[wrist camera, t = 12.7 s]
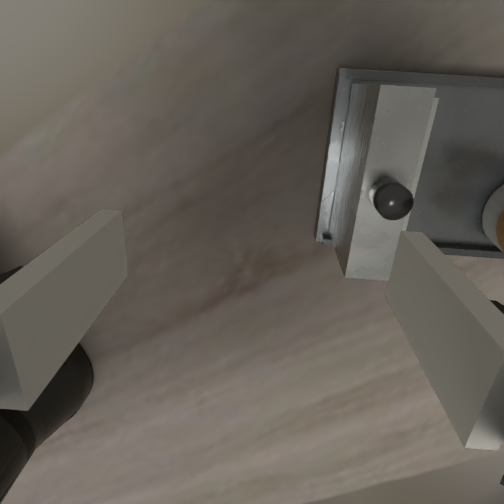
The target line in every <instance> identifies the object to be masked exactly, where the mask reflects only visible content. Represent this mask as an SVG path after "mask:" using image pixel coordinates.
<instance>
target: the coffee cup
mask: <svg viewBox="0 0 504 504" xmlns="http://www.w3.org/2000/svg"><path fill="white" fill-rule="evenodd" d="M482 221H483V229H484V232H485V234H486V236H487V237H488V238H489V239H490V240H491V241H492V242H493V243H494V244H495V245H496V246H497V247H498V248H499V249H500V250H501V251H502V252H503V253H504V184H503V185H502V186H500V187H499V188H498V189H497V190H495V191H494V193H493V194H492V195H491V196H490V197H489V199H488V201H487V202H486V204H485V206H484V210H483V214H482Z"/></svg>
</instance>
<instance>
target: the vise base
mask: <svg viewBox="0 0 504 504" xmlns="http://www.w3.org/2000/svg"><path fill="white" fill-rule="evenodd" d="M352 84H375V85H394V86H410V87H426V88H436V92H435V96H434V98H439V101H438V105H437V109H436V113H435V117H434V121H433V125H432V129H431V133H430V137H429V141H428V145H427V149H426V153H425V157H424V161H423V165H422V169H421V173H420V177H419V181H418V184H417V188H416V192H415V196H414V203H413V207H412V209H411V212H410V216H409V220H408V224H407V228H406V231H414V232H423V233H424V234H425V235H426V236H427V237H428V238H429V239H430V240H431V242H432V243H433V244H434V245H435V246H436V247H437V248H438V249H439V250H440V251H441V252H442V253H443V254H445V255H459V256H473V257H487V258H501V259H504V253H503V252H502V251H501V250H500V249H499V248H498V247H497V246H496V245H495V244H494V243H493V242H492V241H491V240H490V239H489V238H488V237H487V236H486V234H485V232H484V229H483V221H482V214H483V210H484V206H485V204H486V202H487V201H488V199H489V197H490V196H491V195H492V194H493V193H494V191H495V190H497V189H498V188H499V187H500V186H502V185H503V184H504V78H499V77H483V76H466V75H450V74H433V73H417V72H400V71H383V70H367V69H350V68H337V72H336V79H335V87H334V94H333V101H332V109H331V116H330V123H329V130H328V138H327V145H326V152H325V159H324V167H323V174H322V181H321V188H320V196H319V203H318V210H317V217H316V225H315V232H314V237H315V241H316V242H322V245H323V246H333V243H332V241H331V238H330V235H329V230H330V223H331V217H332V210H333V204H334V198H335V191H336V185H337V178H338V172H339V166H340V159H341V153H342V146H343V140H344V134H345V127H346V121H347V114H348V108H349V101H350V95H351V89H352Z"/></svg>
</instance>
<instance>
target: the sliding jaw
mask: <svg viewBox="0 0 504 504" xmlns="http://www.w3.org/2000/svg"><path fill="white" fill-rule="evenodd" d="M435 92H436V88H426V87H410V86H394V85H375V84H352V89H351V95H350V101H349V108H348V114H347V121H346V127H345V134H344V140H343V146H342V153H341V159H340V166H339V172H338V178H337V185H336V191H335V198H334V204H333V210H332V217H331V223H330V230H329V235H330V238H331V241H332V243H333V246H334V249H335V252H336V254H337V257H338V260H339V263H340V266H341V268H342V271H343V274H344V277H345V278H356V279H370V280H383V281H389V277H390V273H391V269H392V265H393V261H394V256H395V252H396V248H397V244H398V240H399V236H400V232H401V231H406V228H407V224H408V220H409V216H410V212H411V209H412V207H413V203H414V196H415V192H416V188H417V184H418V181H419V177H420V173H421V169H422V165H423V161H424V157H425V153H426V149H427V145H428V141H429V137H430V133H431V129H432V125H433V121H434V117H435V113H436V109H437V105H438V101H439V98H434V96H435Z"/></svg>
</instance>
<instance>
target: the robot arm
mask: <svg viewBox="0 0 504 504" xmlns="http://www.w3.org/2000/svg"><path fill="white" fill-rule="evenodd" d="M127 277H128V271H127V261H126V251H125V241H124V231H123V221H122V211H120V210H106V209H101V210H99V211H98V212H97V213H95V214H94V215H93V216H91V217H90V218H88V219H87V220H86V221H84V222H83V223H82V224H80V225H79V226H78V227H76V228H75V229H74V230H72V231H71V232H70V233H68V234H67V235H66V236H64V237H63V238H62V239H60V240H59V241H58V242H56V243H55V244H54V245H52V246H51V247H50V248H48V249H47V250H46V251H44V252H43V253H42V254H40V255H39V256H38V257H36V258H35V259H34V260H32V261H31V262H30V263H28V264H27V265H26V266H20V267H18V268H16V269H13V270H11V271H9V272H6V273H4V274H2V275H0V504H1V502H2V501H3V499H4V498H5V496H6V494H7V493H8V491H9V490H10V488H11V487H12V485H13V483H14V482H15V480H16V479H17V477H18V476H19V474H20V473H21V471H22V469H23V468H24V466H25V465H26V463H27V462H28V460H29V458H30V457H31V455H32V454H33V452H34V451H35V449H36V448H37V447H38V446H39V445H40V444H42V443H43V442H44V441H45V440H46V439H47V438H48V437H49V436H51V435H52V434H53V433H54V432H55V431H56V430H57V429H58V428H59V427H60V426H61V425H63V424H64V423H65V422H66V421H68V420H69V419H70V418H72V417H73V416H74V415H75V414H76V413H77V412H78V410H79V409H80V408H81V406H82V404H83V403H84V401H85V399H86V398H87V396H88V394H89V392H90V390H91V387H92V381H93V375H92V369H91V366H90V363H89V360H88V358H87V357H86V355H85V353H84V352H83V350H82V349H81V348H80V346H79V345H78V343H79V342H80V340H81V339H82V337H83V336H84V335H85V333H86V332H87V331H88V329H89V328H90V327H91V325H92V324H93V323H94V321H95V320H96V319H97V317H98V316H99V315H100V313H101V312H102V311H103V309H104V308H105V306H106V305H107V304H108V302H109V301H110V300H111V298H112V297H113V296H114V294H115V293H116V292H117V290H118V289H119V288H120V286H121V285H122V284H123V282H124V281H125V279H126V278H127ZM385 297H386V299H387V300H388V302H389V304H390V306H391V308H392V310H393V312H394V314H395V316H396V318H397V320H398V322H399V323H400V325H401V327H402V329H403V331H404V333H405V335H406V337H407V339H408V341H409V343H410V344H411V346H412V348H413V350H414V352H415V354H416V356H417V358H418V360H419V362H420V364H421V366H422V367H423V369H424V371H425V373H426V375H427V377H428V379H429V381H430V383H431V385H432V387H433V388H434V390H435V392H436V394H437V396H438V398H439V400H440V402H441V404H442V406H443V408H444V409H445V411H446V413H447V415H448V417H449V419H450V421H451V423H452V425H453V427H454V429H455V431H456V432H457V434H458V436H459V438H460V440H461V442H462V444H463V446H464V448H475V449H487V450H498V449H499V447H500V446H501V444H502V442H503V440H504V305H502V304H500V303H499V302H497V301H493V300H489V299H488V298H487V297H486V296H485V295H484V294H483V293H482V292H481V291H480V290H479V289H478V288H477V287H476V286H475V285H474V284H473V283H472V282H471V281H470V280H469V279H468V278H467V277H466V276H465V275H464V274H463V273H462V272H461V271H460V270H459V269H458V268H457V267H456V266H455V265H454V264H453V263H452V262H451V261H450V260H449V259H448V258H447V257H446V256H445V255H444V254H443V253H442V252H441V251H440V250H439V249H438V248H437V247H436V246H435V245H434V244H433V243H432V242H431V240H430V239H429V238H428V237H427V236H426V235H425V234H424V233H423V232H414V231H401V232H400V236H399V240H398V244H397V248H396V252H395V256H394V261H393V265H392V269H391V273H390V277H389V281H388V285H387V289H386V293H385ZM500 484H502V485H504V475H503V477H502V480H501V482H500Z"/></svg>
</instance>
